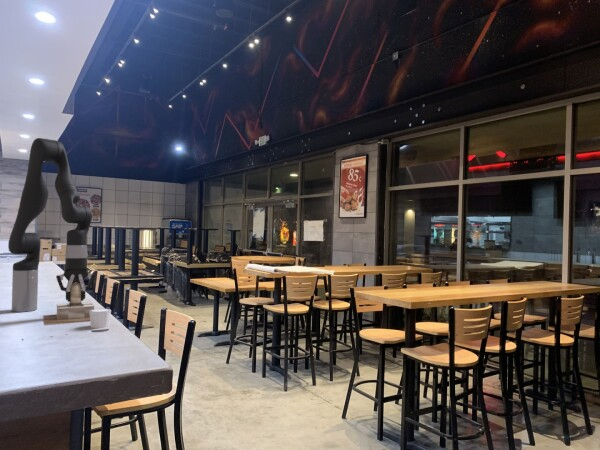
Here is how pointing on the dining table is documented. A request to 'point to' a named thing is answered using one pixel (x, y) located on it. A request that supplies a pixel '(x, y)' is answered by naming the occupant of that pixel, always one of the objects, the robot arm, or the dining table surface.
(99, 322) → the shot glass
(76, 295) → the peg
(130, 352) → the dining table surface
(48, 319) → the socket board
